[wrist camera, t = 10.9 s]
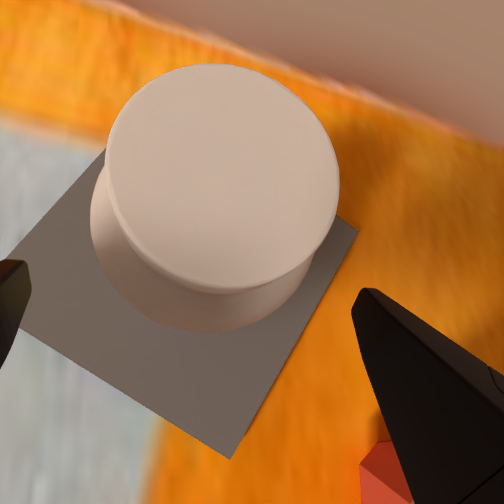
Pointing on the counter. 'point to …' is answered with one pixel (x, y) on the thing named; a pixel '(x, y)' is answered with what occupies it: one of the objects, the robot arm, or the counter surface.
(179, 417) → the charcoal mat
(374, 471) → the french fries container
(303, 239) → the supplement bottle
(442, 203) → the counter surface
